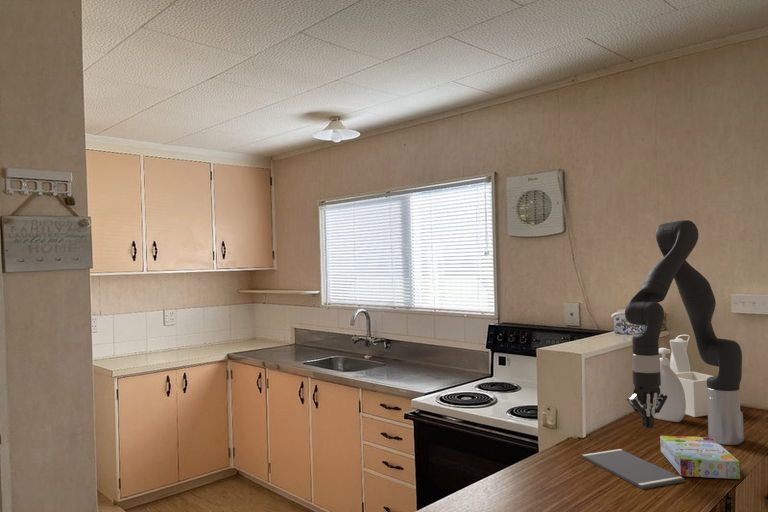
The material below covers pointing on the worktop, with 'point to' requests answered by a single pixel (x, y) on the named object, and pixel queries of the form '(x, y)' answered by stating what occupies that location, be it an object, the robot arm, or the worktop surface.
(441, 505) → the worktop surface
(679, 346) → the white twisted bottle
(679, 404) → the soap bottle
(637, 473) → the gray tablet computer
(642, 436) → the worktop surface
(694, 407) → the utensil crock
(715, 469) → the snack box
